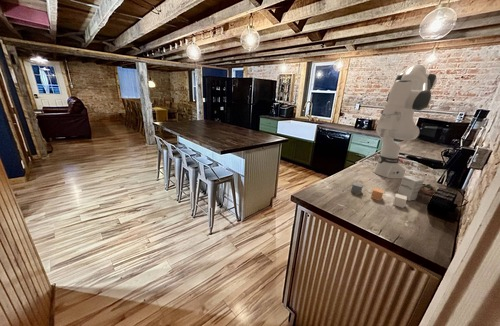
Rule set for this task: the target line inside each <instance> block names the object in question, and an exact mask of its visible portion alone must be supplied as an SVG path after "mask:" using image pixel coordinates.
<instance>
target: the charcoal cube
mask: <svg viewBox="0 0 500 326" xmlns="http://www.w3.org/2000/svg"><path fill="white" fill-rule="evenodd" d="M363 186H364V184H363V183H359V182H356V181H354V182H353V184H352V186H351V190H350V192H351V193H353V194H357V195H359V196H360V195H361V193H362V189H363Z"/></svg>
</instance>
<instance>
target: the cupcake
mask: <svg viewBox="0 0 500 326" xmlns="http://www.w3.org/2000/svg"><path fill="white" fill-rule="evenodd" d="M435 192H437V187H435V186H432V185H431V184H426V183H423V184H422V187H421V188H420V190H419V191H418V195H417V198H416V199H415V200H416V201H418V202H420V203H423V204H429V201H430V199H431V197H432V195H433V194H434V193H435Z"/></svg>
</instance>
